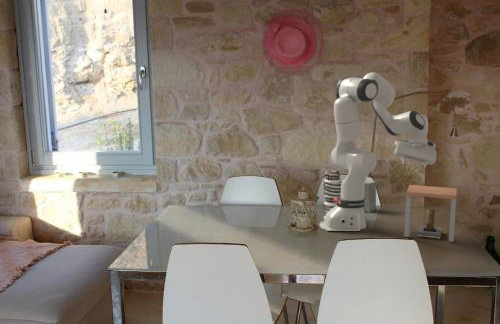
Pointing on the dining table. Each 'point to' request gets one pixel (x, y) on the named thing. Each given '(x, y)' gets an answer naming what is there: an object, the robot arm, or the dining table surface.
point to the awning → (436, 193)
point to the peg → (430, 220)
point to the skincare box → (370, 196)
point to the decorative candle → (331, 189)
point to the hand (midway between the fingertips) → (413, 166)
